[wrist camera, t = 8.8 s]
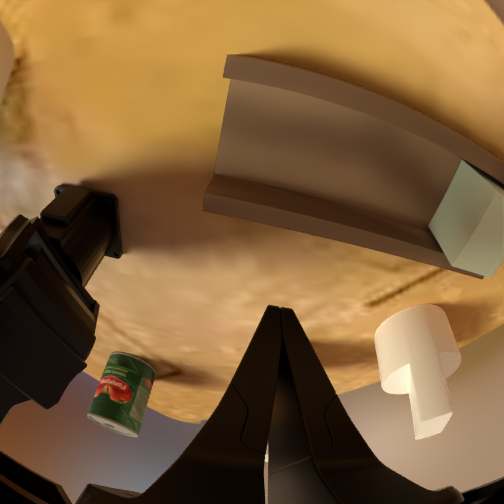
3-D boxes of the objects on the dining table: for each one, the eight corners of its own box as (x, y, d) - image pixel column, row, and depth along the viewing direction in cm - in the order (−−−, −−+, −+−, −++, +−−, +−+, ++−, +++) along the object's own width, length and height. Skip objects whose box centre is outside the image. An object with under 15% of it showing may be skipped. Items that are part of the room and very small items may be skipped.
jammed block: (467, 240, 19) (491, 278, 15) (428, 225, 19) (451, 265, 15) (500, 182, 15) (532, 215, 12) (461, 159, 15) (497, 191, 11)
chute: (466, 252, 21) (482, 279, 18) (214, 184, 19) (202, 210, 17) (513, 169, 15) (537, 190, 12) (237, 54, 14) (227, 54, 11)
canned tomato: (125, 347, 36) (100, 416, 28) (166, 374, 40) (149, 438, 31) (101, 355, 40) (79, 414, 31) (138, 379, 43) (121, 435, 35)
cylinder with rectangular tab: (443, 337, 29) (465, 423, 20) (377, 358, 32) (389, 447, 23) (448, 293, 24) (484, 398, 15) (368, 319, 27) (385, 431, 18)
